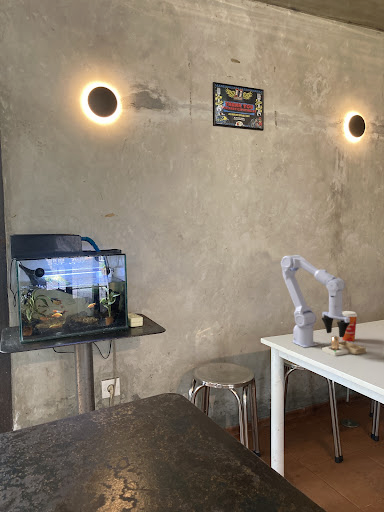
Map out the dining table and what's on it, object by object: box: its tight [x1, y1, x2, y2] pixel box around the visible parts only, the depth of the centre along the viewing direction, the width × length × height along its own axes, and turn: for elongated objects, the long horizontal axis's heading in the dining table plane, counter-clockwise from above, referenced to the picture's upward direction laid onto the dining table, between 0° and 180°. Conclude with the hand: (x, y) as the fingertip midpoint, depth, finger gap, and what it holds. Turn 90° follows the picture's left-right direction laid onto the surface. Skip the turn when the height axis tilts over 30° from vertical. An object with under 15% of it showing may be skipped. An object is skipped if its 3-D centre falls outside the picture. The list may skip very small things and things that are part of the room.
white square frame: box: [321, 345, 349, 357], centre depth 174 cm, size 8×8×2 cm
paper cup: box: [341, 310, 358, 343], centre depth 191 cm, size 8×8×14 cm
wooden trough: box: [339, 340, 367, 356], centre depth 176 cm, size 12×6×2 cm, turn 24°
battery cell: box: [330, 335, 340, 351], centre depth 173 cm, size 3×3×8 cm
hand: (335, 334), depth 173 cm, fingers open, 7 cm apart
